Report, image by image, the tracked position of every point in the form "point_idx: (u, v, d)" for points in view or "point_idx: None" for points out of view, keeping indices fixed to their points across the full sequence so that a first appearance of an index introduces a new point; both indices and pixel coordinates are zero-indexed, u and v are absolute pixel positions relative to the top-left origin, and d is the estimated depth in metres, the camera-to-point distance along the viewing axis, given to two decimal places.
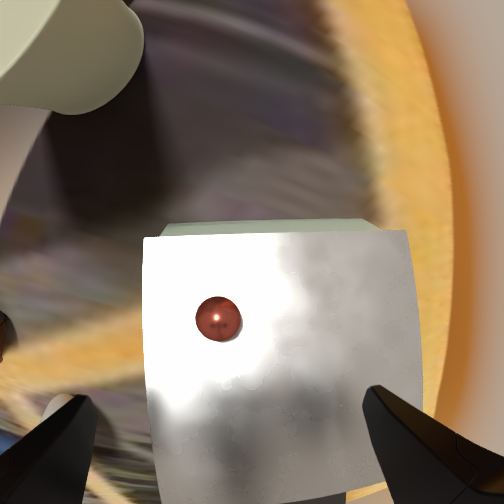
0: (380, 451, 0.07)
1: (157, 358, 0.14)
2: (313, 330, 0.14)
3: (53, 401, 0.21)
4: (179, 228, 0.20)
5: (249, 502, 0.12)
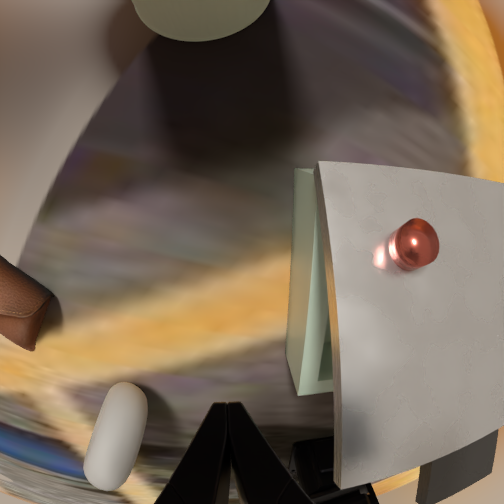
0: (233, 474, 0.07)
1: (351, 294, 0.12)
2: (475, 262, 0.13)
3: (116, 391, 0.19)
4: None
5: (430, 457, 0.10)
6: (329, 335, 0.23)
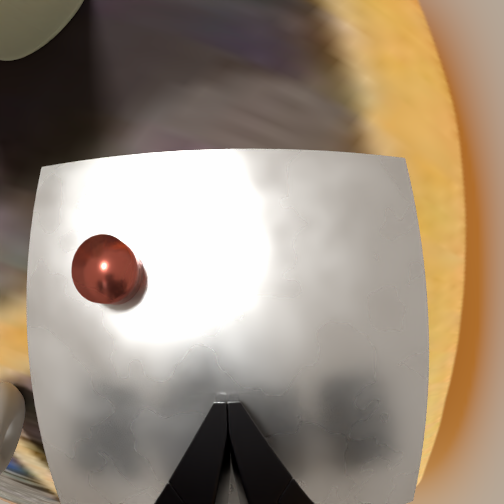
0: (233, 473, 0.07)
1: (40, 325, 0.09)
2: (255, 296, 0.09)
3: None
4: None
5: None
6: None
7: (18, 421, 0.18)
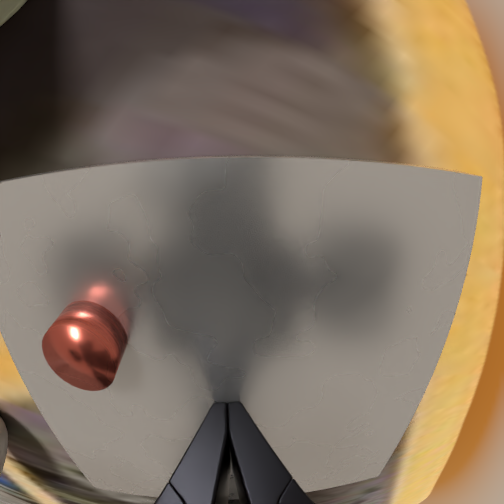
0: (233, 474, 0.07)
1: (31, 372, 0.08)
2: (261, 357, 0.08)
3: None
4: None
5: None
6: None
7: (1, 447, 0.15)
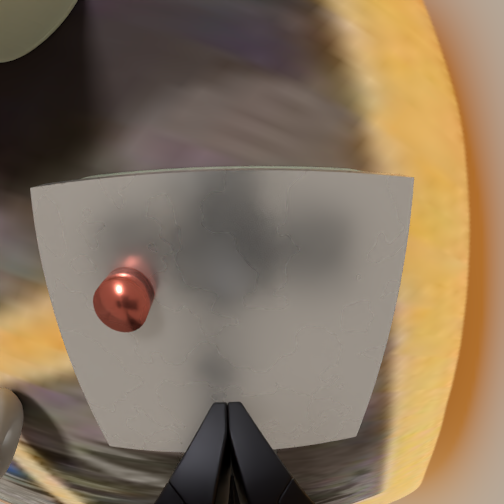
0: (233, 474, 0.07)
1: (71, 329, 0.11)
2: (249, 309, 0.11)
3: None
4: (100, 176, 0.14)
5: (184, 449, 0.14)
6: None
7: (17, 426, 0.18)
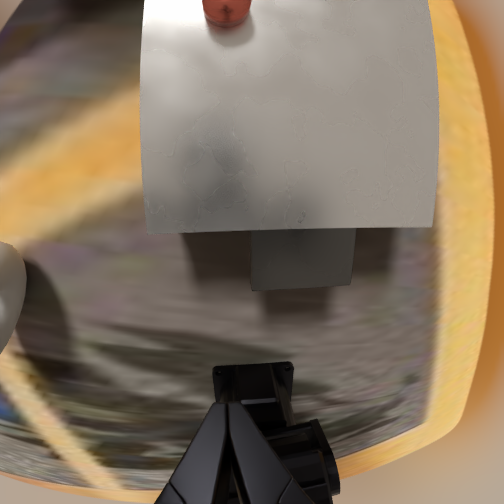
0: (233, 474, 0.07)
1: (155, 48, 0.11)
2: (326, 30, 0.11)
3: None
4: None
5: (248, 224, 0.14)
6: None
7: (14, 303, 0.18)
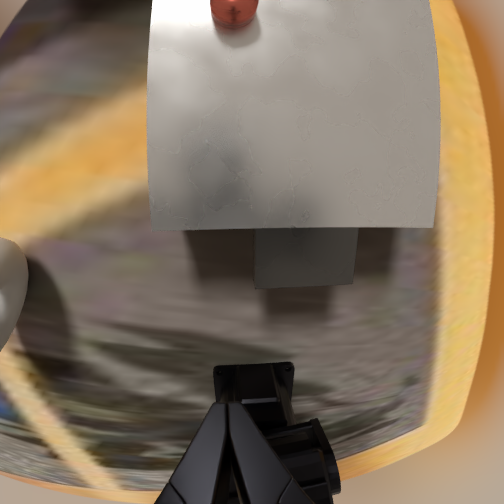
0: (233, 474, 0.07)
1: (163, 47, 0.11)
2: (331, 32, 0.11)
3: None
4: None
5: (252, 222, 0.14)
6: None
7: (16, 300, 0.18)
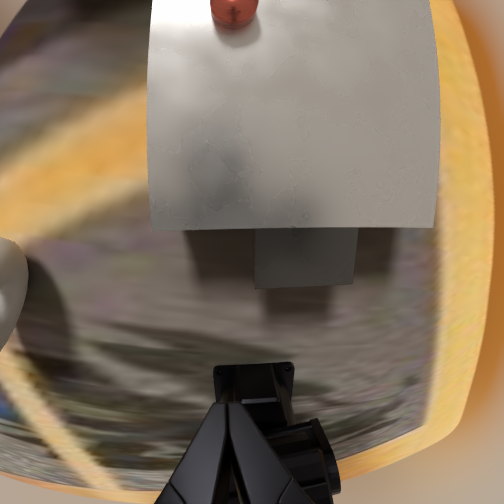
0: (233, 474, 0.07)
1: (163, 47, 0.11)
2: (331, 32, 0.11)
3: None
4: None
5: (252, 222, 0.14)
6: None
7: (16, 300, 0.18)
